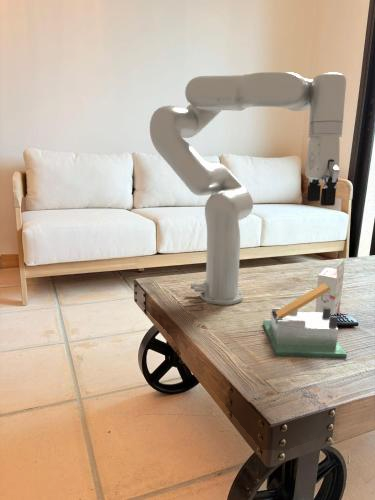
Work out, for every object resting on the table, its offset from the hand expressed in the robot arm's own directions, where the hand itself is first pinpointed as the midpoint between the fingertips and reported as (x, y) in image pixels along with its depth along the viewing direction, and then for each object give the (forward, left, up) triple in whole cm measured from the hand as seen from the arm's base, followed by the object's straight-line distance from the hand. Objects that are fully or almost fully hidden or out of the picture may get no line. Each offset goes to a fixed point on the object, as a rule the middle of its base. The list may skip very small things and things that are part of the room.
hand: (320, 203), depth 97 cm
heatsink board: (-6, -14, -30) cm, 34 cm away
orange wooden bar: (-6, -14, -21) cm, 26 cm away
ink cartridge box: (+5, +2, -30) cm, 31 cm away
